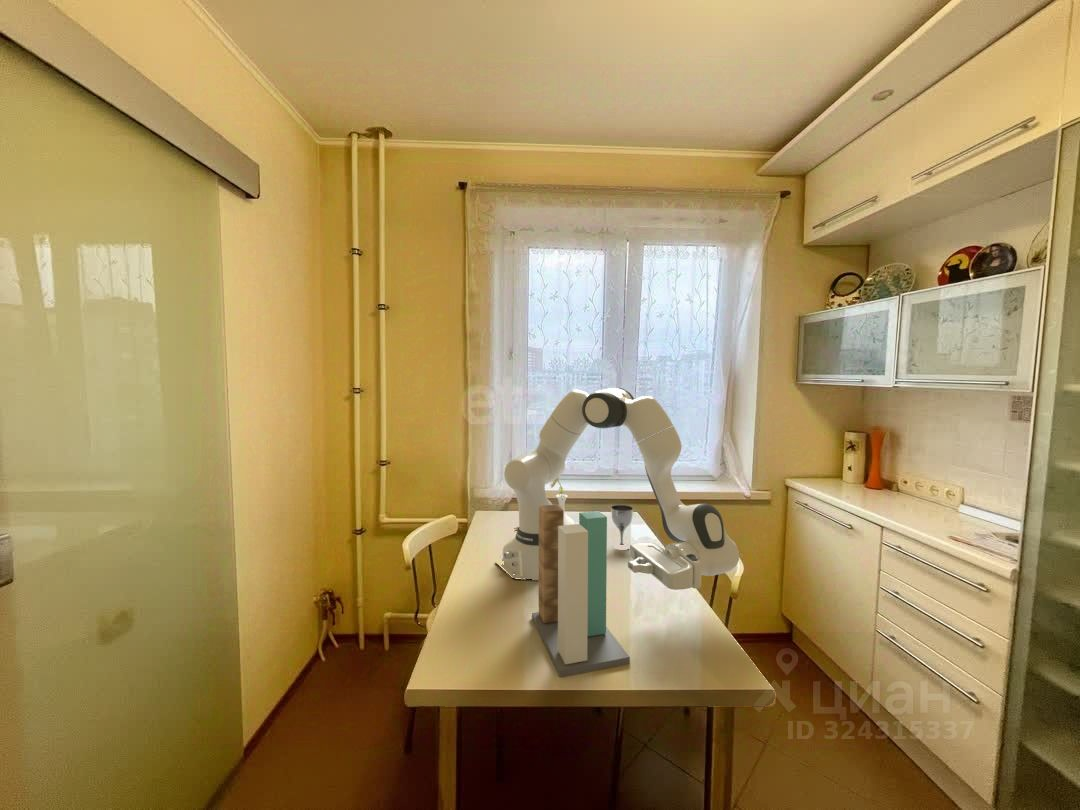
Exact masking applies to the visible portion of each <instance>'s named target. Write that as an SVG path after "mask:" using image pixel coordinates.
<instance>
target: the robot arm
mask: <svg viewBox="0 0 1080 810" xmlns="http://www.w3.org/2000/svg"><path fill="white" fill-rule="evenodd" d="M588 425H590V427H591V426H592V427H594V428H597V429H609V428H616V427H621V426H624V427H626V428H627V429H628V430H629V431H630V433H631V435H632V437H633V438H634V441H635V442H636V445H637V447H638V449H639V451H640V453H641V455H642V458H643V462H644V468H645V473H646V476H647V479H648V482H649V484H650V486H651V487H650V488H651V489H652V491H653V494H654V497H655V499H656V502H657V504H658V507H659V510H660V515H661V523H662V528H663V530H664V532H665V534H666V535H667V537H668V538H669V539H670V540H672V541H673V542H672V543H669V544H667V545H666V547H665V549H664V548H663V547H662V546H660V545H659V544H657V543H654V542H633V543H631V544H629V545H630V550H629V557H630V558H631V559H632V560H628V561H627V568H628V569H629V570H630V571H632V572H633V573H634V574H638V573H640V574H641V573H642V574H647V575H650V574H651V576H653V577H654V578H655V579H656V580H658V582H660V583H661V584H662V585H664V587H666V588H667V589H670V590H674V591H678V590H688V589H700V588H701V586H702V576H706V577H712V576H717V575H722V574H725V573H728V572H731V571H732V570H734V569H735V568H736V567H737V566H738V564H739V560H740V551H739V548H738V546H737V544H736V543H735V542H734V541H733V540H732V538H730V536H729V535H728V533H727V531H726V528H725V526H724V520H723V517H722V514H721V513H720V511H719V510H718V509H717V508H716V507H715V506H713V504H709V503H696V504H695V503H694V504H690V505H686V504H684V503H683V502H682V500H681V499H680V497H679V494H678V491H677V488H676V486H675V484H674V483H675V482H674V481H673V478H672V468H673V466H674V464H675V463H676V461H677V460H678V459H679V458H680V455H681V451H682V443H681V442H682V441H681V439H680V436H679V434H678V431H677V429H676V428H675V426H674V424H673V422H672V421H671V419H670V417H669V415H668V414H667V413H666V411H665V410H664V408H663V406H661V404H660V402H658V400H657V399H656V398H654V397H652V396H650V395H649V396H648V395H646V396H645V395H643V396H639V397H637V398H635V397H634V396H633V395H632V393H631V392H629V391H628V390H627V389H624V388H622V387H606V388H603V389H601V390H600V389H599V390H596V391H595V390H594V391H593V392H591V393H590V394H589V393H587V392H586V391H584V390H580V389H573V390H570V391H569V392H568V393H567V394H566V395H565V396H564V397H563V398H562V399H561V400H560V402H559V403H557V404H556V406H555V408H554V410H553V411H552V412H551V414H550V415H549V416H548V418H547V420H546V422H545V423H544V425H543V427H542V428H541V430H540V431H539V436H538V437H539V439H540V440H539V443H538V445H537V447H536V448H535V450H534V451H532V452H530V453H525V454H521V455H518V456H516V457H515V458H513V459H512V460H511V461H509V462H508V463H507V464H506V466H505V468H504V472H503V473H504V475H503V476H504V480H505V483H506V484H507V485H508V487H509V488H511V490H513V492H514V494H515V497H516V500H517V504H518V526H517V527H514V528H513V529H514V531H513V532H516V533H515V537H514V538H512V539H511V540H510V541H508V542H507V543H506V544H504V546H503V547H502V556H503V558H502V561H504V565H503V564H502V565H501V566H502V567H503V568H504V569H505V570H506V571H507V572H508V573H509V574H510V575H511V576H512V577H513V578H525V579H524V580H526V579H532V580H531V581H539V506H546V505H553V504H552V501H550V500H549V498H548V497H547V494H546V487H545V486H546V485H547V484H550V483H552V482H553V481H554V480H556V479H557V478H558V477H559V478H560V477H561V475H562V474H563V473H564V471H565V470H566V469H565V468H566V463H565V462H566V460H567V458H568V455H569V453H570V451H571V449H572V448H573V447H574V446H575V444H576V442H577V441H578V440H579V438H580V437H581V435H582V433H584V431H585V429H586V427H587V426H588ZM513 574H515V575H513Z"/></svg>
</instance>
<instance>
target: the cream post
mask: <svg viewBox="0 0 1080 810" xmlns="http://www.w3.org/2000/svg"><path fill="white" fill-rule="evenodd" d="M587 630H588V531H587V530H586V529H585V528H584V527H582V526H581V525H580V524H579V523H578V524H577V523H576V524H575V525H564V526H558V652H559V654H560V655H561V657H562V659H563V661H564V663H565V665H566V664H571V663H576V662H582V661H587Z"/></svg>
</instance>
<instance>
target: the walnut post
mask: <svg viewBox="0 0 1080 810" xmlns="http://www.w3.org/2000/svg"><path fill="white" fill-rule="evenodd" d="M564 511H565V509H564V510H563V509H562V508H561V507H559V504H552V505H546V506H539V580H538V612H539V615H540V617H541V619H542V621H543V622H544V623H551V622H557V621H558V526H564Z"/></svg>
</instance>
